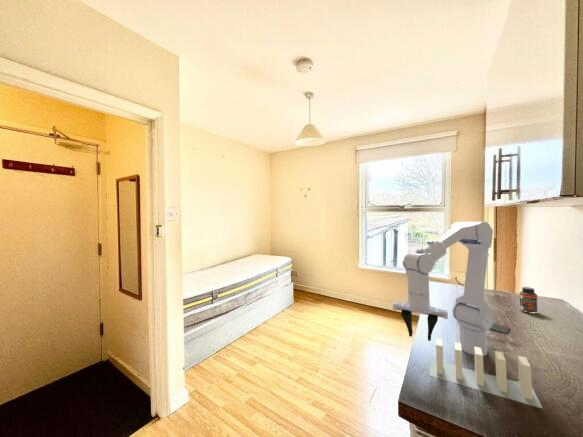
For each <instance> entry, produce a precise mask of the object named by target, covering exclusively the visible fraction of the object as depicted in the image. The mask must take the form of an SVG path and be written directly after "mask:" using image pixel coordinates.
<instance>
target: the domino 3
mask: <svg viewBox="0 0 583 437" xmlns="http://www.w3.org/2000/svg"><path fill="white" fill-rule="evenodd" d="M494 357H495V359H494V361H495V376H496V381H497V385H498V388H499V391H502V392H506V393H507V379H508V378H507V377H508V376H507V361H506V360H507V359H506V357H505V355H504V352H502V351H497V350H495V351H494Z"/></svg>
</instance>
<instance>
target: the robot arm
mask: <svg viewBox="0 0 583 437" xmlns="http://www.w3.org/2000/svg"><path fill="white" fill-rule="evenodd" d="M493 233H494V230H493V228H492V227H491V225H490V224H489V222H487V221H484V220H483V221H455V222H453V224H450V226H449V230H447V231H446V232H445V233H444V234H443V235H442V236H440V237H439V238H438V239H437V240H436V239H429V240H427V241H426V244H424V245H423V246H421V247H419V248H417V249H416V250H415V252H411V251H410V252H408V253H406V255H404V258H403V260H402V266H403V268H404V270H405V275H406V276H407V297H408V299H407V301H408V302H397V301H394V302H393V303H392V310H393V311H401V313H400V314H401V318H402V319H403V321H404V323H405V326H406V328H407V331H408V335H409V337H410V338H413V321H412V320H413V318H412V317H413V313H415V314H420V315H426V316H427V319H426V320H427V341H428V342H431V340H432V333H433V331H434V328H435V326H436V325H437V323H438V321H439V319H438V318H443V319H445V320H448V319H449V318H448V316H449V314H448V313H449V312H448V309H442V308H438V307H435V306H431V305H430V303H431V302H430V301H431V300H430V299H431V298H430V276H429V275H430V273H431V272H432V271H433V268H434V266H435V265H436V262H437V261H439V260H440V259H441V258H443V257H444V256H445V255H447V249H448V248H450V247H452V246H454V245H455V244H456V243H460V244H461V245H463V246H465V247H466V248H467V250H468V255H467V261H466V262H467V264H466V271H465V281H464V289H463V290H464V291H463V294H462V295H461V296H458V297H457V298H455V303H454V305H453V308H452V316H453V318H454V319H455V320H456V322H457V324H458V325H459V328H458V329H459V341H458V342H457V343H461V348H462V352H463V351H464V352H465V353H468V354H470V355H473V356H474V346H475V347H479V348H481V350H482V354H483V357H485V356H487V355H488V337H487V331H490V330H489V329H490V328H491V327H492V325H493V324H494V316H493V307H492V306H491V305H490V304H489V303H488V302H487V301H486V300H485V299H484V297H485V296H484V294H485V285H486V276H487V267H488V256H489V249H490V248H491V247H492V242H493Z"/></svg>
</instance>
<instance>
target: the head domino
mask: <svg viewBox="0 0 583 437" xmlns="http://www.w3.org/2000/svg"><path fill="white" fill-rule="evenodd" d="M443 347H444V346H443V339H441V338H436V341H435V350H436V351H435V353H436V355H435V356H436V361H437V373H438V374H442V375H443V363H444V348H443Z"/></svg>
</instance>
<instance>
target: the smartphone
mask: <svg viewBox="0 0 583 437" xmlns="http://www.w3.org/2000/svg"><path fill="white" fill-rule="evenodd" d="M488 331H492V332H496V333H500V334H503V333H504V335H508V334H509V333H510V331H511V328H510V327H508V326H504V325H500V324H497V323H493V325H492V327H491V328H490V329H489V330H488Z"/></svg>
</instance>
